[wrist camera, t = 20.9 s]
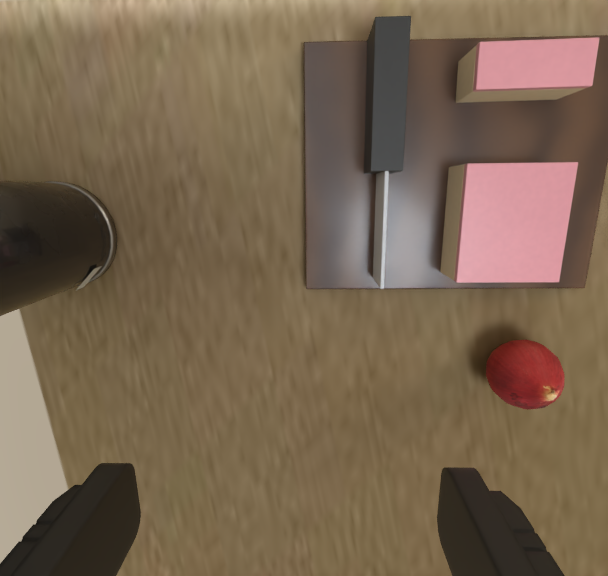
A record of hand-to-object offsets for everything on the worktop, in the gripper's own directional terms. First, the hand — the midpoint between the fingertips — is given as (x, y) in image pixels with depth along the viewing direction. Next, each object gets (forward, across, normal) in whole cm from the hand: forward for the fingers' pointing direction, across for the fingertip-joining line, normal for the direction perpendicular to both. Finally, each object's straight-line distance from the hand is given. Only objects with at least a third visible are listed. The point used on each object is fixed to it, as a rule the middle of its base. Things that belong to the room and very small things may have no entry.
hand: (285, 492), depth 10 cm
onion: (+26, -19, +8) cm, 33 cm away
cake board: (+26, -12, -9) cm, 30 cm away
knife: (+25, -6, -10) cm, 28 cm away
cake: (+25, -16, -5) cm, 30 cm away
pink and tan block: (+25, -16, -16) cm, 34 cm away
